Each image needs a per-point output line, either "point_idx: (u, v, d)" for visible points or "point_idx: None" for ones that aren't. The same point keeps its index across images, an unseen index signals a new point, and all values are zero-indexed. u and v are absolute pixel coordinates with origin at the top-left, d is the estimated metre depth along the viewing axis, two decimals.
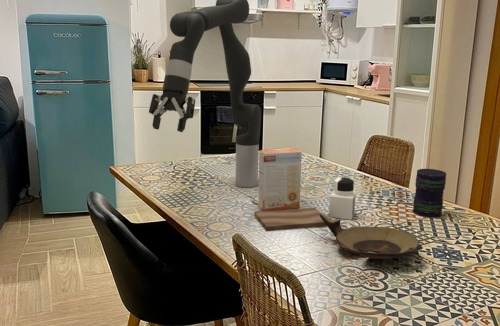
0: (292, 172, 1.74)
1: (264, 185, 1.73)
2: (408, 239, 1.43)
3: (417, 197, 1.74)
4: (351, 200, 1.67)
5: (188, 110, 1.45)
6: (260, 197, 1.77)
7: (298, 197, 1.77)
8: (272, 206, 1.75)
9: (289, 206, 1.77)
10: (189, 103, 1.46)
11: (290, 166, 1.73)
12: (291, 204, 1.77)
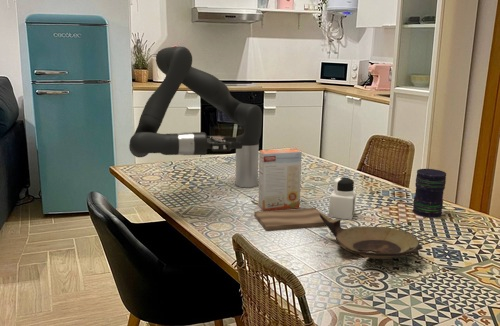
0: (292, 172, 1.74)
1: (264, 185, 1.73)
2: (408, 239, 1.43)
3: (417, 197, 1.74)
4: (351, 200, 1.67)
5: None
6: (260, 197, 1.77)
7: (298, 197, 1.77)
8: (272, 206, 1.75)
9: (289, 206, 1.77)
10: None
11: (290, 166, 1.73)
12: (291, 204, 1.77)
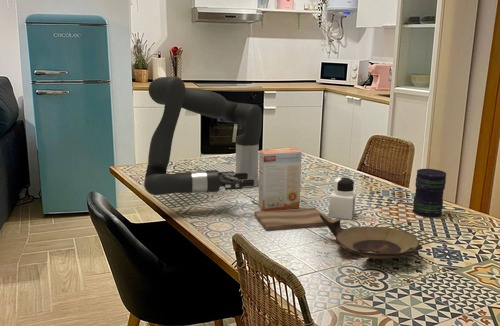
0: (292, 172, 1.74)
1: (264, 185, 1.73)
2: (408, 239, 1.43)
3: (417, 197, 1.74)
4: (351, 200, 1.67)
5: None
6: (260, 197, 1.77)
7: (298, 197, 1.77)
8: (272, 206, 1.75)
9: (289, 206, 1.77)
10: None
11: (290, 166, 1.73)
12: (291, 204, 1.77)
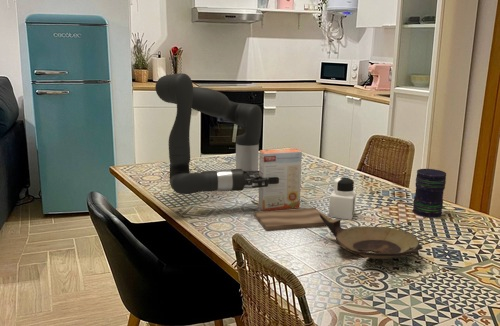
0: (293, 172, 1.74)
1: None
2: (408, 239, 1.43)
3: (417, 197, 1.74)
4: (351, 200, 1.67)
5: None
6: (260, 197, 1.77)
7: (298, 197, 1.77)
8: (272, 206, 1.75)
9: (289, 206, 1.77)
10: None
11: (290, 166, 1.73)
12: (291, 204, 1.77)
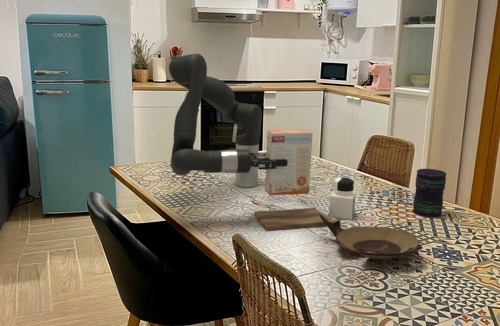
0: (302, 154, 1.62)
1: None
2: (408, 239, 1.43)
3: (417, 197, 1.74)
4: (351, 200, 1.67)
5: None
6: (266, 181, 1.65)
7: (308, 182, 1.65)
8: (280, 191, 1.63)
9: (298, 191, 1.65)
10: None
11: (299, 148, 1.62)
12: (300, 189, 1.65)
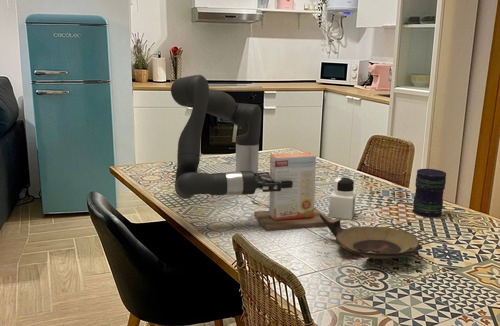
0: (306, 178, 1.61)
1: (275, 193, 1.59)
2: (408, 239, 1.43)
3: (417, 197, 1.74)
4: (351, 200, 1.67)
5: None
6: (271, 205, 1.63)
7: (312, 205, 1.64)
8: (285, 215, 1.62)
9: (303, 215, 1.63)
10: None
11: (303, 171, 1.60)
12: (304, 212, 1.63)
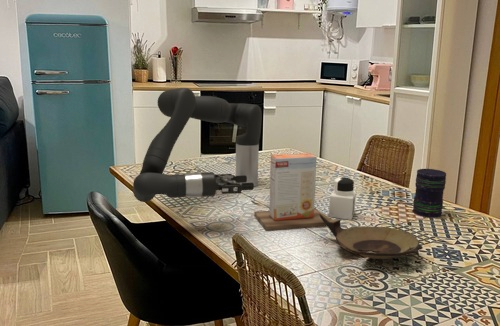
0: (307, 178, 1.61)
1: (276, 193, 1.59)
2: (408, 239, 1.43)
3: (417, 197, 1.74)
4: (351, 200, 1.67)
5: None
6: (271, 206, 1.63)
7: (312, 206, 1.63)
8: (285, 216, 1.62)
9: (303, 216, 1.63)
10: None
11: (304, 172, 1.60)
12: (305, 213, 1.63)
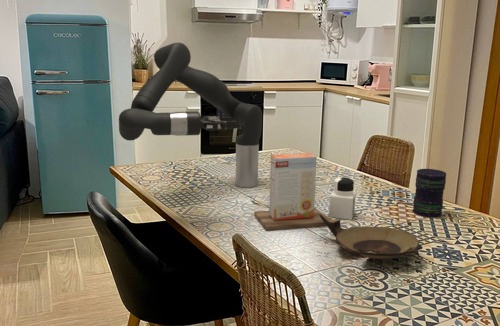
0: (307, 178, 1.61)
1: (276, 193, 1.59)
2: (408, 239, 1.43)
3: (417, 197, 1.74)
4: (351, 200, 1.67)
5: None
6: (271, 206, 1.63)
7: (312, 206, 1.63)
8: (285, 216, 1.62)
9: (303, 216, 1.63)
10: None
11: (304, 172, 1.60)
12: (305, 213, 1.63)
